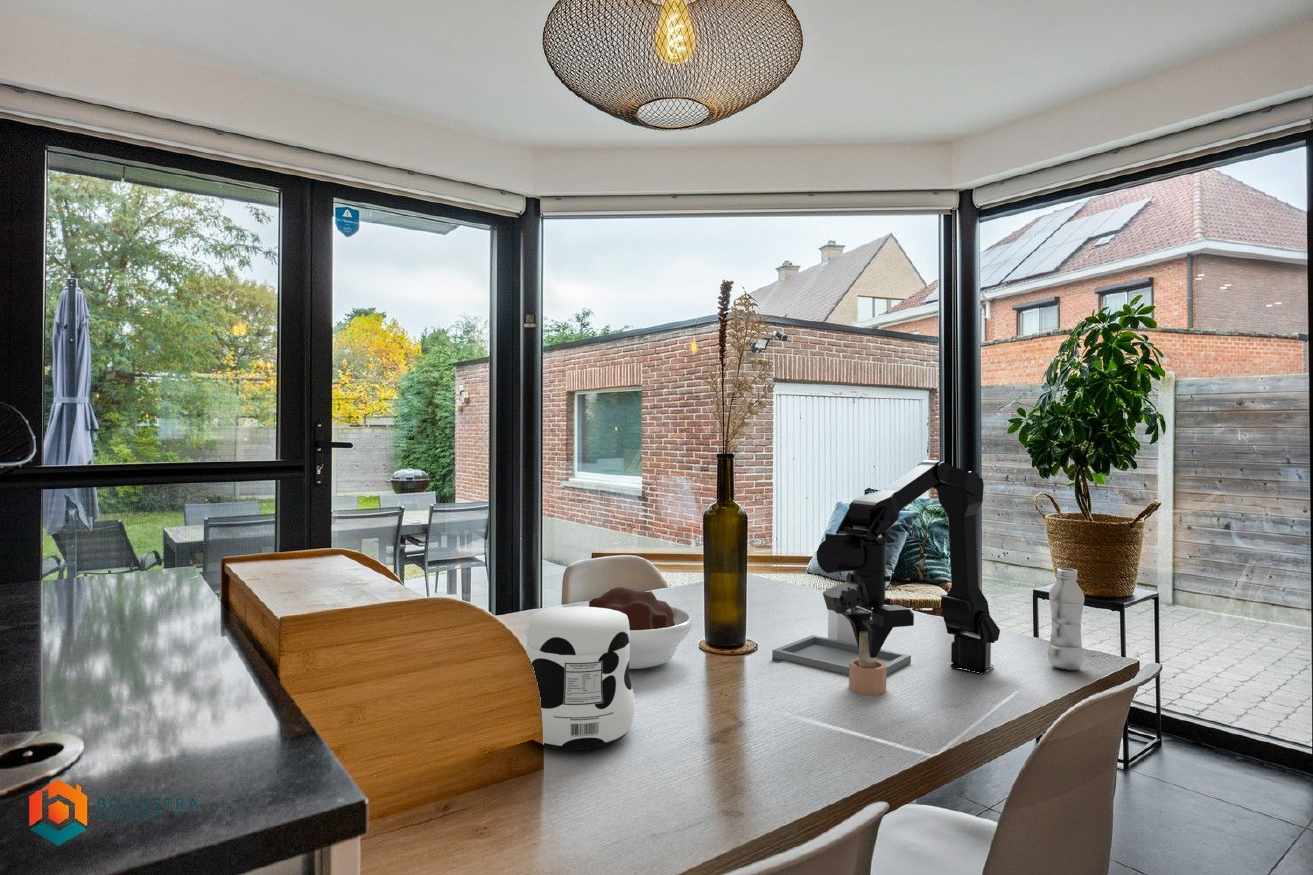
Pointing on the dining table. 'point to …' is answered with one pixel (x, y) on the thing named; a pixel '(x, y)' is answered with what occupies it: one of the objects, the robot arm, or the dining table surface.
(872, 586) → the robot arm
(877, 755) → the dining table surface
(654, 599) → the white bowl
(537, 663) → the milk container
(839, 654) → the tray
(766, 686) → the dining table surface
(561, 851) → the dining table surface
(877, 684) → the cup
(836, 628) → the jar
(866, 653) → the pin
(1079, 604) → the plastic bottle
